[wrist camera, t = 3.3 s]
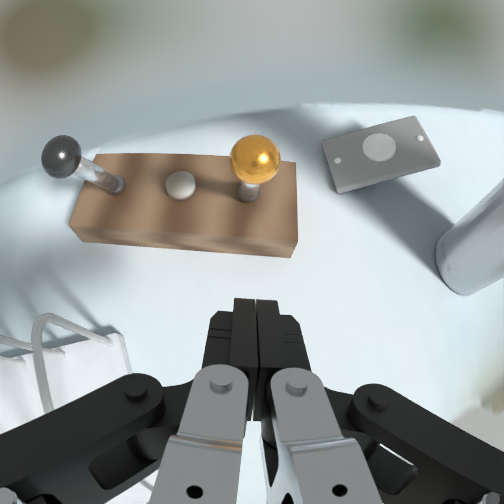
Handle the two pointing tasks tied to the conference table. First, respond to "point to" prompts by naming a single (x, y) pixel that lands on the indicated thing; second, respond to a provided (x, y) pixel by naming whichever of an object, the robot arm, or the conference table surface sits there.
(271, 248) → the switch panel
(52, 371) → the file sorter
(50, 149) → the lever black
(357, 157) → the light switch
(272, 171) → the lever orange
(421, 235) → the conference table surface
